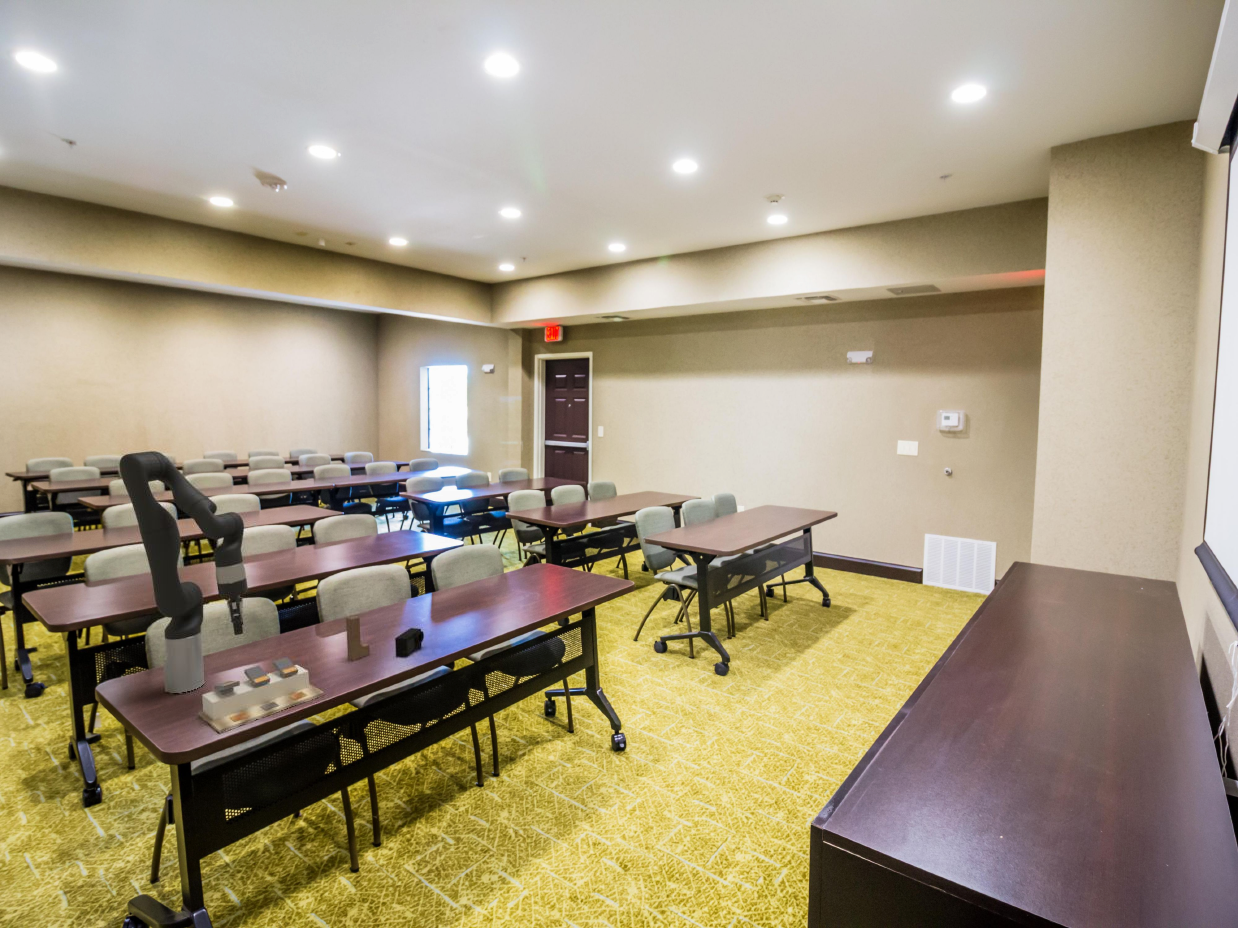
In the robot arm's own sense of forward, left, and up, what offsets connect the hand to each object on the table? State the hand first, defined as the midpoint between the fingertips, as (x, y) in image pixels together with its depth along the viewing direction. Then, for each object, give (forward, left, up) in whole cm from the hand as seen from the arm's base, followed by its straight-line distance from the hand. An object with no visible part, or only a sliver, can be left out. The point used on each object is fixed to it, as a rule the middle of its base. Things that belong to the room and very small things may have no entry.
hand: (239, 629), depth 183 cm
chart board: (+11, -8, -20) cm, 24 cm away
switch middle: (+8, -6, -12) cm, 16 cm away
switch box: (+8, -6, -19) cm, 21 cm away
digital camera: (+42, +31, -20) cm, 56 cm away
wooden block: (+25, +27, -20) cm, 42 cm away
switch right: (+13, 0, -12) cm, 18 cm away
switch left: (+3, -12, -12) cm, 17 cm away
